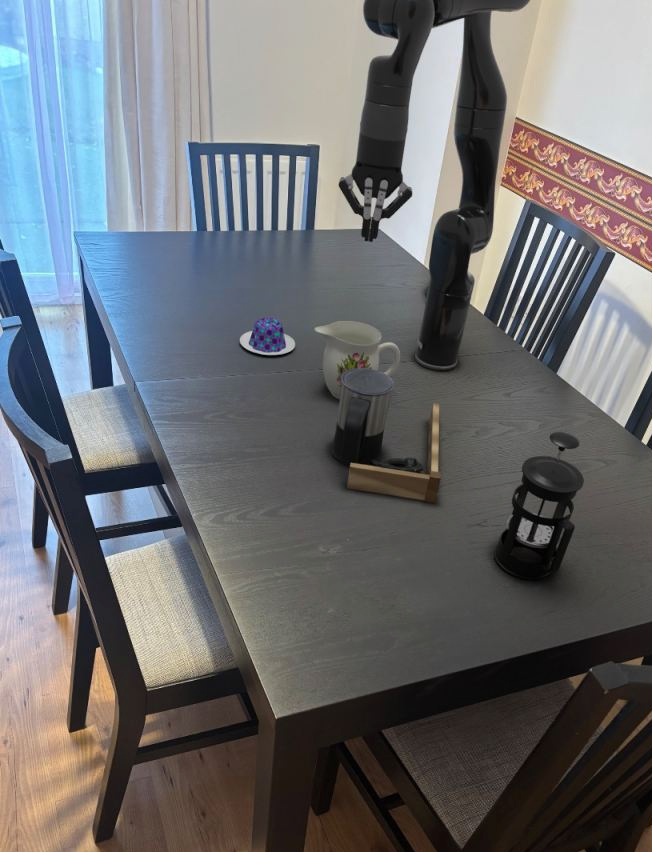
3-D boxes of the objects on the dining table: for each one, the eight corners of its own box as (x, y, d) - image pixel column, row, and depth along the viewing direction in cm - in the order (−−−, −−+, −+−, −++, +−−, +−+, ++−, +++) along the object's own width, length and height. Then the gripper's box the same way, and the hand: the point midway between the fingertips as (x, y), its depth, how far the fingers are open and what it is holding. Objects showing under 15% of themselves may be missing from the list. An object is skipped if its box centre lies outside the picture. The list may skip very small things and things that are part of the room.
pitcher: (401, 406, 157) (412, 343, 149) (313, 407, 153) (320, 342, 144) (386, 379, 165) (397, 318, 157) (302, 379, 161) (308, 316, 152)
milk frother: (329, 437, 145) (338, 365, 136) (413, 442, 147) (427, 371, 138) (334, 482, 134) (344, 407, 125) (424, 487, 136) (441, 414, 127)
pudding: (261, 362, 164) (262, 339, 161) (228, 339, 171) (229, 317, 167) (306, 350, 171) (308, 328, 168) (273, 328, 178) (274, 306, 174)
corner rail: (360, 412, 153) (363, 389, 150) (436, 424, 153) (441, 401, 150) (346, 489, 133) (350, 464, 130) (434, 503, 133) (440, 478, 130)
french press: (479, 545, 125) (515, 423, 111) (525, 533, 129) (566, 413, 115) (524, 594, 117) (569, 469, 103) (571, 579, 121) (621, 456, 107)
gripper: (340, 131, 122) (329, 242, 133) (424, 143, 123) (406, 252, 133) (343, 121, 128) (332, 228, 139) (423, 132, 129) (406, 238, 139)
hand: (368, 240), depth 136 cm, fingers closed
